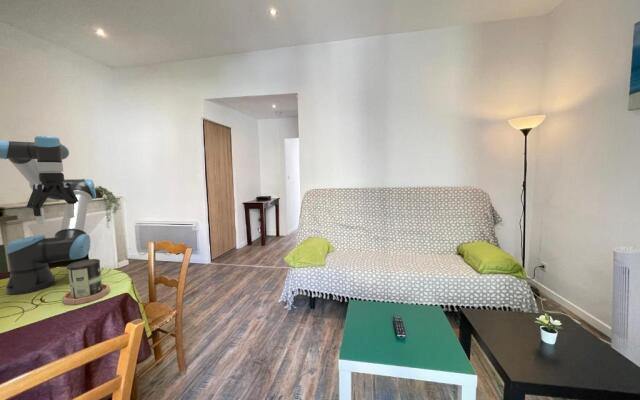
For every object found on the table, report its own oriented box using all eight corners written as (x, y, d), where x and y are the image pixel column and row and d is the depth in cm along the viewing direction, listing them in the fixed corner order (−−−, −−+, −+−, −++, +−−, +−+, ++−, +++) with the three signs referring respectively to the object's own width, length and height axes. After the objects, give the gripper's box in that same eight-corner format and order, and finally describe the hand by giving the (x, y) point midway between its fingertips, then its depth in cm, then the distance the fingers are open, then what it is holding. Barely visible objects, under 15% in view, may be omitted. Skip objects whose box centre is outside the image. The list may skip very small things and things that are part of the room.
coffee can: (100, 286, 117) (97, 257, 115) (105, 293, 110) (102, 262, 109) (69, 295, 109) (65, 263, 107) (72, 303, 102) (68, 269, 101)
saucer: (70, 292, 112) (70, 288, 112) (112, 285, 119) (112, 281, 119) (57, 308, 100) (56, 303, 99) (105, 299, 107) (104, 294, 106)
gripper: (69, 172, 123) (74, 215, 125) (8, 172, 98) (15, 226, 100) (85, 172, 123) (89, 215, 125) (28, 172, 98) (35, 226, 100)
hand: (57, 220), depth 113 cm, fingers open, 13 cm apart
